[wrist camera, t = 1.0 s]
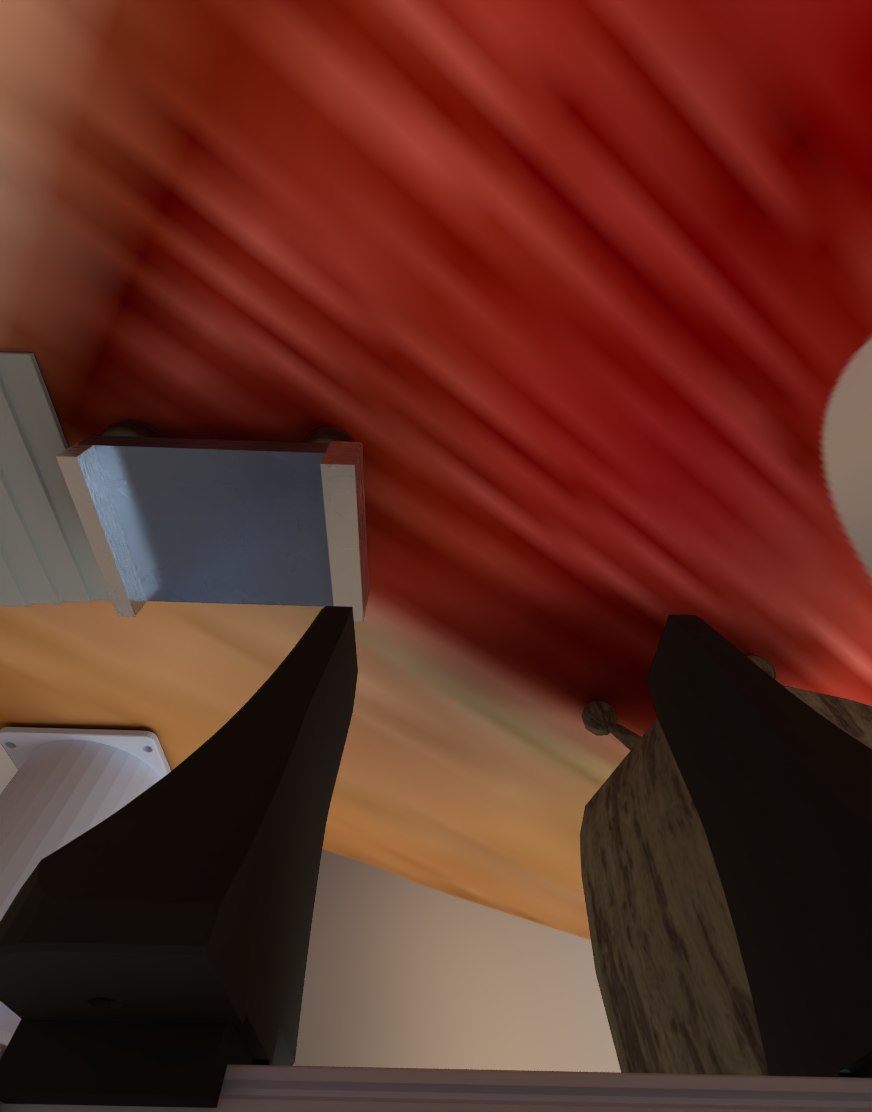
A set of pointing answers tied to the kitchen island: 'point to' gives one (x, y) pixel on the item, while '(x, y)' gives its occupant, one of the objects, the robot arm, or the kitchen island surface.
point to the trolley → (223, 517)
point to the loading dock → (38, 499)
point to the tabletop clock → (670, 909)
